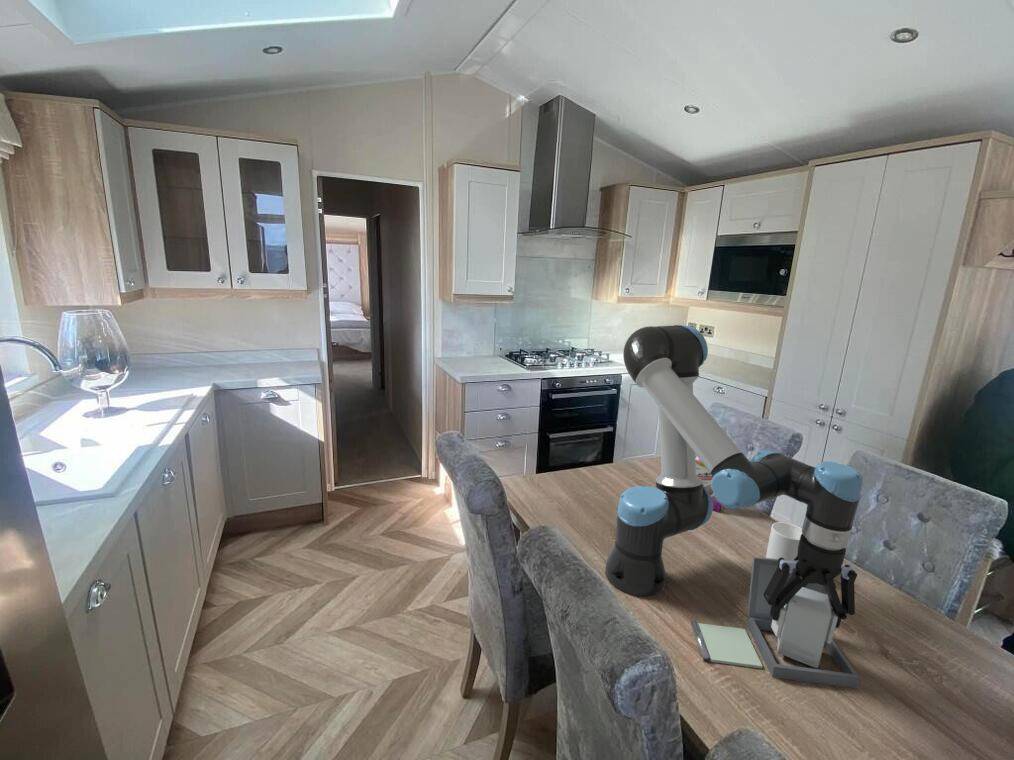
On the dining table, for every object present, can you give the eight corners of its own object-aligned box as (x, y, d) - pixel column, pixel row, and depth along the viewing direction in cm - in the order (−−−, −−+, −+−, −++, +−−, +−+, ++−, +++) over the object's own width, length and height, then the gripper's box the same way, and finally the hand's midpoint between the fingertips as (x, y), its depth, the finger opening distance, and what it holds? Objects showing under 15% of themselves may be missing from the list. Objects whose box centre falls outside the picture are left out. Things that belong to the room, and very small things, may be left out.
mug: (818, 570, 126) (826, 535, 123) (783, 577, 122) (791, 541, 120) (791, 552, 134) (798, 519, 131) (758, 558, 130) (764, 524, 128)
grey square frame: (772, 677, 92) (774, 666, 91) (747, 625, 105) (748, 616, 104) (857, 688, 90) (860, 678, 89) (820, 635, 103) (823, 625, 102)
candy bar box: (686, 503, 159) (692, 459, 155) (689, 498, 163) (695, 454, 159) (721, 513, 153) (728, 468, 150) (723, 507, 158) (730, 462, 154)
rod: (702, 660, 95) (702, 655, 95) (689, 624, 105) (690, 619, 104) (709, 661, 95) (710, 655, 95) (696, 625, 105) (697, 620, 104)
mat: (710, 661, 95) (711, 659, 95) (697, 625, 105) (698, 623, 104) (762, 668, 94) (762, 666, 94) (744, 631, 103) (744, 629, 103)
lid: (754, 558, 103) (753, 556, 104) (749, 616, 104) (747, 614, 105) (829, 566, 101) (827, 564, 102) (823, 625, 102) (821, 623, 103)
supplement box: (818, 670, 93) (832, 617, 89) (776, 653, 96) (787, 601, 93) (817, 645, 99) (830, 594, 96) (777, 630, 102) (788, 581, 99)
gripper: (772, 545, 89) (752, 641, 94) (896, 558, 86) (868, 657, 92) (757, 523, 96) (739, 614, 102) (871, 535, 93) (846, 628, 99)
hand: (800, 635), depth 97 cm, fingers closed on supplement box, 9 cm apart
